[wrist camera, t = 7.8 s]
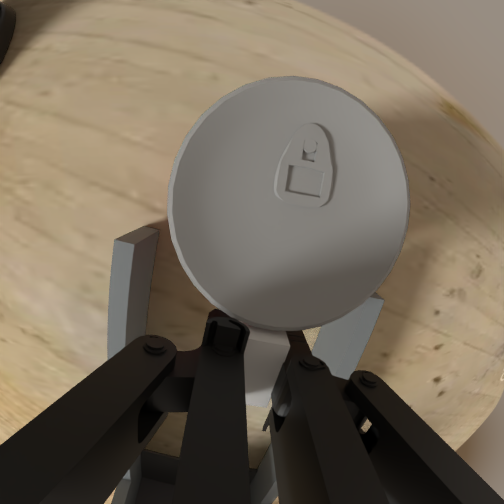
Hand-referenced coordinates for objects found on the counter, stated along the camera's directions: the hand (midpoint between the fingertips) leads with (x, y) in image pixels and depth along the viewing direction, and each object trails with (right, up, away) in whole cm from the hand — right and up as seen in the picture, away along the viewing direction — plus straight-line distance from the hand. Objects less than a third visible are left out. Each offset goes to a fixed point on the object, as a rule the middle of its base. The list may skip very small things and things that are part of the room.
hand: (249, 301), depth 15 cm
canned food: (+1, +6, +4) cm, 8 cm away
